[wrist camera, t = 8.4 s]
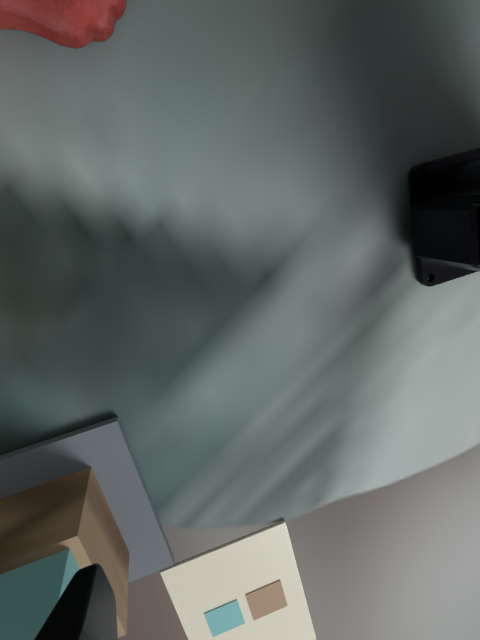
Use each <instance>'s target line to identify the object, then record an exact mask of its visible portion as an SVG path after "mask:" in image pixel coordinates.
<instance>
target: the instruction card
mask: <svg viewBox="0 0 480 640" xmlns="http://www.w3.org/2000/svg"><path fill="white" fill-rule="evenodd" d="M160 574H161V576H162V578H163V581H164V583H165V586H166V588H167V590H168V593H169V595H170V597H171V600H172V602H173V604H174V607H175V609H176V612H177V614H178V616H179V619H180V621H181V623H182V626H183V628H184V631H185V633H186V635H187V638H188V640H315V639H316V636H315V632H314V629H313V625H312V621H311V617H310V613H309V610H308V606H307V602H306V598H305V595H304V591H303V587H302V583H301V580H300V576H299V572H298V568H297V564H296V560H295V556H294V553H293V549H292V545H291V541H290V537H289V534H288V530H287V526H286V522H285V520H283V521H281V522H278V523H276V524H273V525H271V526H268V527H266V528H263V529H261V530H258V531H256V532H253V533H251V534H248V535H246V536H243V537H241V538H238V539H236V540H233V541H231V542H228V543H226V544H224V545H221V546H218V547H216V548H213V549H211V550H208V551H206V552H204V553H201V554H198V555H196V556H193V557H191V558H189V559H186V560H183V561H181V562H178V563H176V564H174V565H172V566H169V567H167V568H164V569H162V570H160Z"/></svg>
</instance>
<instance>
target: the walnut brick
mask: <svg viewBox="0 0 480 640" xmlns="http://www.w3.org/2000/svg"><path fill="white" fill-rule="evenodd" d="M69 548H70V550H71V552H72V554H73V556H74V557H75V559H76V561H77V563H78V565H79V567H80V569H82V568H84V567H87V566H89V565H92V564H94V563H98V564H100V565H101V566H102V568H103V570H104V572H105V574H106V576H107V579H108V581H109V583H110V585H111V587H112V589H113V591H114V594H115V599H116V611H117V632H118V638H119V637H121V636H123V635H126V630H127V604H128V603H127V602H128V578H129V550H128V548H127V546H126V544H125V541H124V539H123V537H122V535H121V532H120V530H119V528H118V526H117V523H116V521H115V519H114V517H113V515H112V512H111V510H110V508H109V506H108V503H107V501H106V499H105V497H104V494H103V492H102V490H101V488H100V485H99V483H98V481H97V479H96V476H95V474H94V472H93V470H92V467H90V468H87V469H84V470H81V471H78V472H75V473H73V474H70V475H67V476H64V477H61V478H58V479H55V480H53V481H50V482H47V483H44V484H41V485H38V486H35V487H33V488H30V489H27V490H24V491H21V492H18V493H15V494H13V495H10V496H7V497H4V498H1V499H0V574H3V573H5V572H8V571H11V570H13V569H16V568H19V567H21V566H24V565H27V564H29V563H32V562H34V561H37V560H40V559H42V558H45V557H48V556H50V555H53V554H56V553H58V552H61V551H64V550H66V549H69Z"/></svg>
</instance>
